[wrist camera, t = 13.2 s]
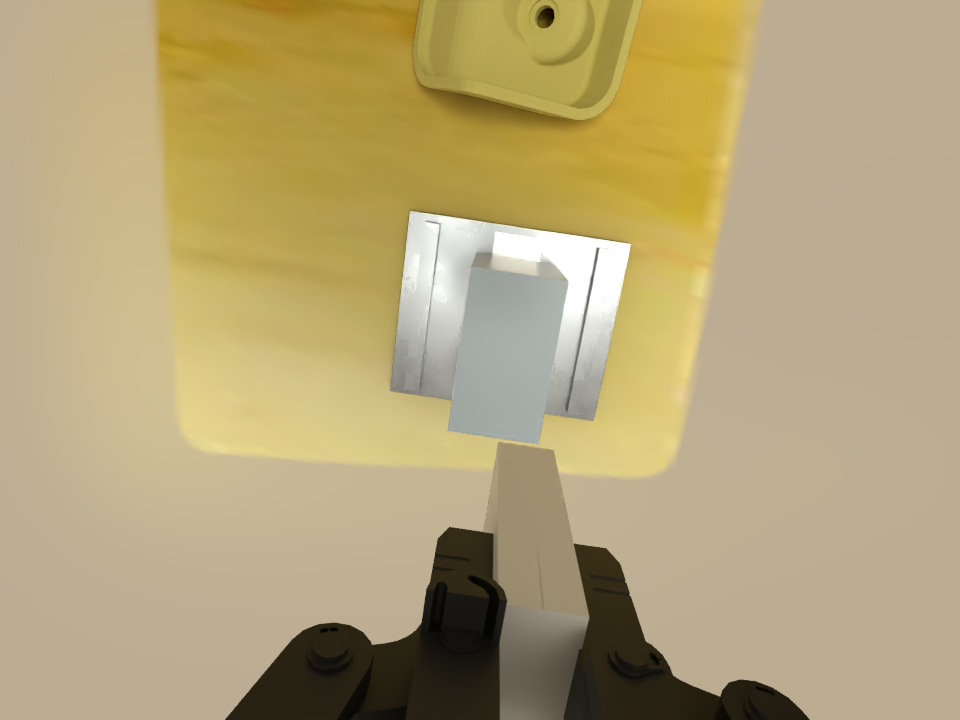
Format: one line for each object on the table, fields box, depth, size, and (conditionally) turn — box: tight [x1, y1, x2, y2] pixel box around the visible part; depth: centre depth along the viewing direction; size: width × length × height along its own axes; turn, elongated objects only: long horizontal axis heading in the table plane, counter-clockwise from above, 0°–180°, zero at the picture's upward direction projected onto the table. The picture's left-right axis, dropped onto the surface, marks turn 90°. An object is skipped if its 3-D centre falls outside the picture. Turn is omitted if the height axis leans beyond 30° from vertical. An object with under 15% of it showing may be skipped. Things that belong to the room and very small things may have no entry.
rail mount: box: [390, 211, 631, 421], centre depth 39 cm, size 12×14×2 cm
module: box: [448, 252, 569, 444], centre depth 35 cm, size 9×5×8 cm, turn 172°
